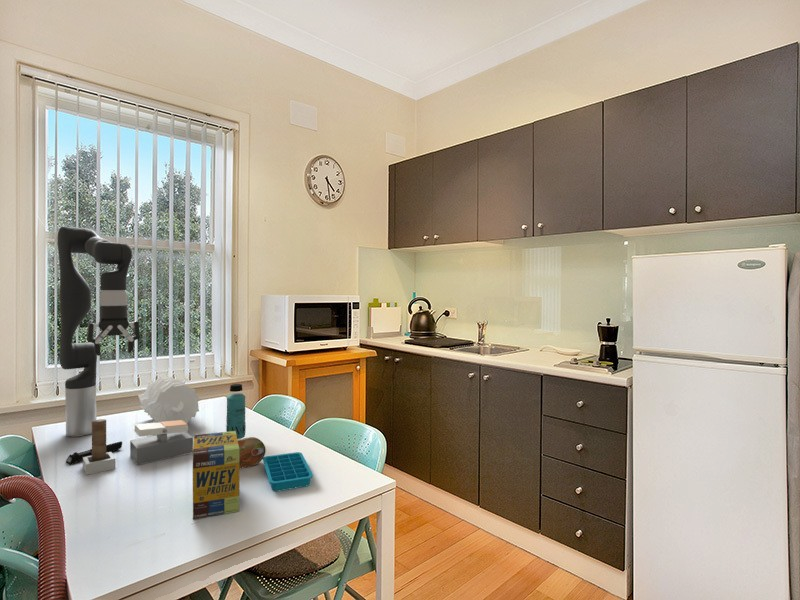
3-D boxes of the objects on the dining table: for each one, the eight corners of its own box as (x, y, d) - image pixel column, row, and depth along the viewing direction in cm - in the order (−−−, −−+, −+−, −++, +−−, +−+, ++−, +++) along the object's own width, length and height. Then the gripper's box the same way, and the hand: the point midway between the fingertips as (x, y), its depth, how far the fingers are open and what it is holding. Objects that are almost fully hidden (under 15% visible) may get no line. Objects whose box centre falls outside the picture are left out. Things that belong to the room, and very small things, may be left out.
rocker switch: (134, 430, 143) (134, 423, 143) (181, 426, 152) (181, 419, 152) (139, 436, 137) (140, 429, 137) (188, 431, 146) (188, 424, 146)
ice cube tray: (269, 494, 118) (269, 483, 118) (262, 466, 136) (262, 456, 136) (314, 487, 122) (314, 476, 122) (301, 461, 141) (301, 451, 141)
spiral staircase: (172, 423, 190) (191, 435, 171) (129, 412, 180) (143, 423, 161) (191, 382, 196) (211, 389, 177) (150, 369, 185) (166, 375, 166)
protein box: (192, 520, 104) (192, 454, 104) (194, 492, 118) (193, 434, 118) (240, 511, 108) (240, 448, 108) (236, 485, 122) (236, 429, 122)
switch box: (130, 455, 143) (130, 434, 143) (183, 444, 154) (183, 424, 154) (137, 465, 136) (136, 442, 136) (192, 452, 146) (192, 431, 146)
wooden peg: (90, 467, 134) (90, 420, 134) (105, 464, 136) (105, 418, 136) (92, 470, 131) (92, 423, 131) (107, 467, 134) (107, 421, 133)
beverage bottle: (221, 442, 156) (221, 385, 155) (235, 436, 162) (235, 381, 162) (236, 445, 153) (236, 387, 153) (250, 439, 160) (249, 383, 159)
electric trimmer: (124, 451, 149) (124, 441, 148) (70, 466, 136) (70, 455, 136) (119, 449, 151) (119, 439, 151) (65, 463, 138) (65, 453, 138)
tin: (212, 473, 130) (212, 444, 130) (211, 469, 133) (211, 441, 133) (265, 464, 137) (265, 437, 137) (263, 460, 140) (263, 434, 140)
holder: (82, 467, 134) (82, 457, 134) (111, 461, 139) (111, 451, 139) (86, 474, 129) (86, 464, 128) (115, 468, 133) (115, 458, 133)
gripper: (136, 303, 153) (136, 350, 153) (85, 304, 143) (86, 354, 144) (141, 304, 147) (141, 353, 148) (88, 305, 138) (89, 357, 138)
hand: (114, 354), depth 146 cm, fingers open, 8 cm apart
